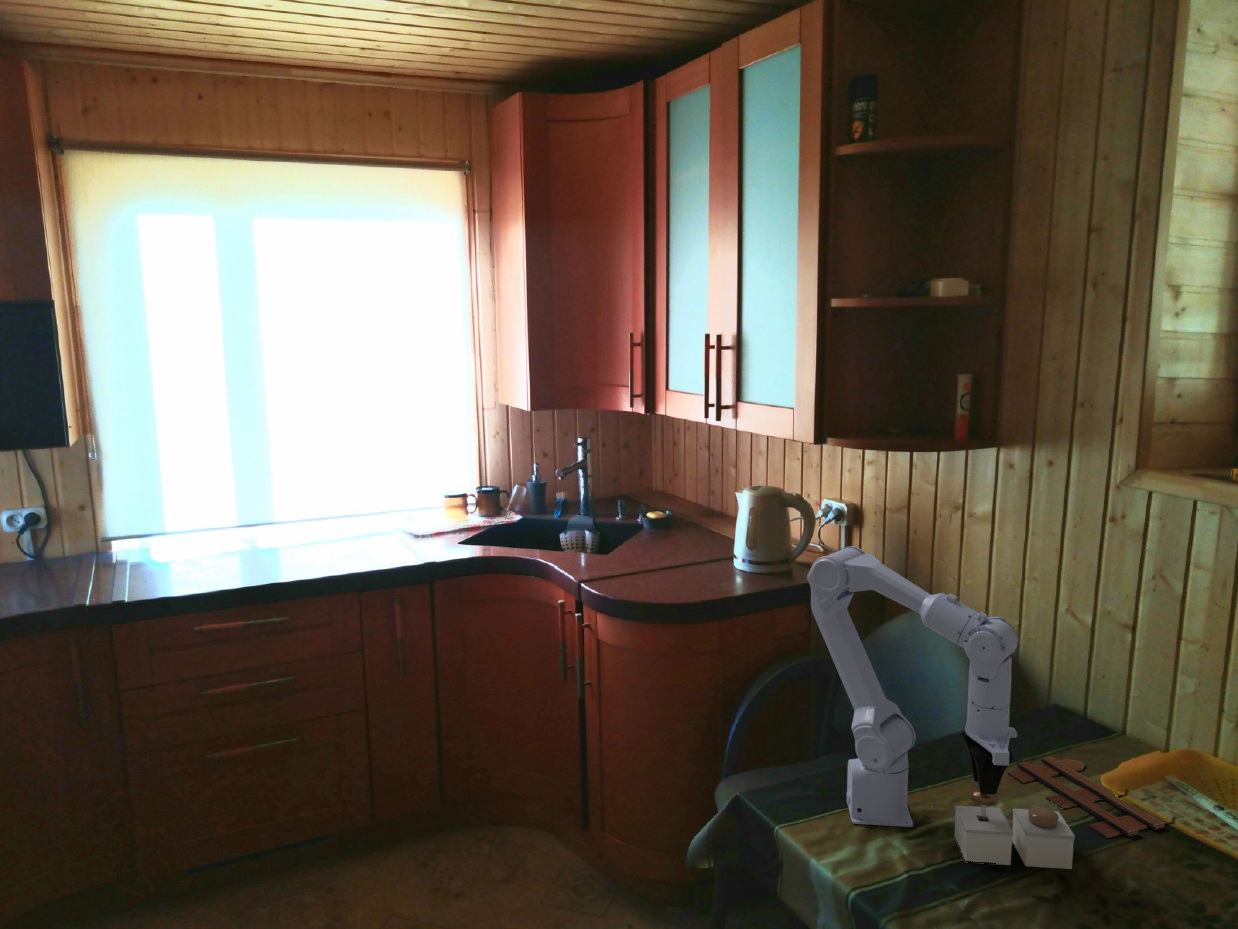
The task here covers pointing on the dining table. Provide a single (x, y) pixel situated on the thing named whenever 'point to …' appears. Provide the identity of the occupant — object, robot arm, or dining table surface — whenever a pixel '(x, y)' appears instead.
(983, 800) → the left press plunger
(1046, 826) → the block
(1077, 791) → the decorative fence
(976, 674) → the robot arm
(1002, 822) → the left press
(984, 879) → the dining table surface
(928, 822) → the dining table surface
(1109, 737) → the dining table surface
